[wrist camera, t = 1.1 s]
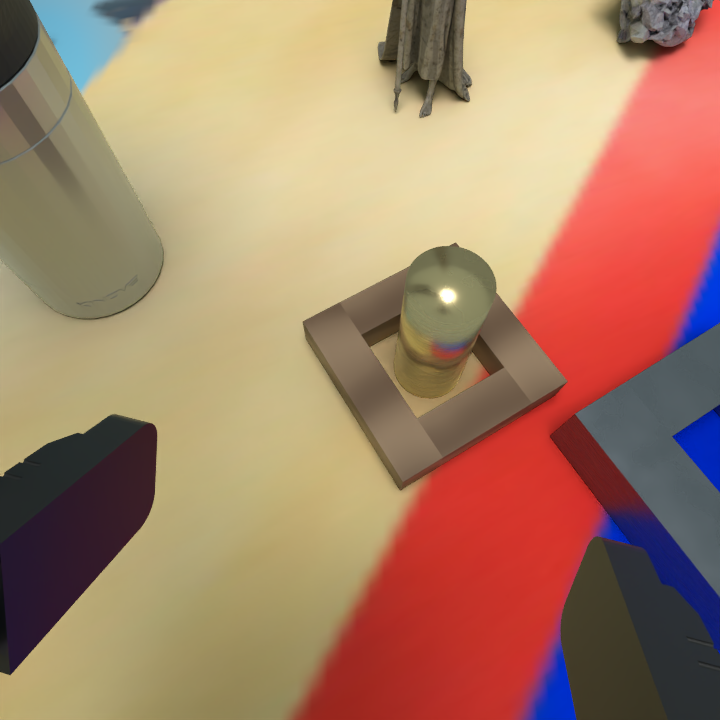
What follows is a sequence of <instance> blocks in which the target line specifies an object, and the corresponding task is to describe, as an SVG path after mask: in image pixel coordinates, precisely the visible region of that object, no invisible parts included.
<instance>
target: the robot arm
mask: <svg viewBox="0 0 720 720" xmlns="http://www.w3.org/2000/svg"><path fill="white" fill-rule="evenodd" d="M0 260H1V261H2V262H3V263H4V264H5V265H6V266H8V267H9V268H10V269H11V270H12V271H13V272H14V273H15V274H16V275H17V276H18V277H19V278H20V279H21V280H22V281H23V282H24V283H25V284H26V285H27V286H28V287H29V288H30V289H31V290H32V291H33V292H34V293H35V294H36V295H37V296H38V297H40V298H41V299H42V300H43V301H44V302H45V303H46V304H47V305H48V306H50V307H51V308H52V309H54V310H55V311H57V312H59V313H61V314H64V315H66V316H70V317H75V318H99V317H104V316H109V315H112V314H114V313H117V312H120V311H122V310H124V309H126V308H127V307H129V306H131V305H133V304H134V303H136V302H137V301H138V300H139V299H140V298H142V297H143V296H144V295H145V294H146V293H147V292H148V290H149V289H150V288H151V287H152V286H153V284H154V283H155V281H156V279H157V277H158V275H159V273H160V270H161V266H162V262H163V249H162V245H161V241H160V239H159V237H158V235H157V233H156V231H155V229H154V227H153V226H152V224H151V222H150V220H149V218H148V216H147V214H146V213H145V211H144V209H143V207H142V205H141V203H140V201H139V199H138V197H137V195H136V194H135V192H134V190H133V188H132V186H131V184H130V183H129V181H128V179H127V177H126V175H125V174H124V172H123V170H122V168H121V166H120V164H119V163H118V161H117V159H116V157H115V155H114V153H113V152H112V150H111V148H110V146H109V144H108V142H107V141H106V139H105V137H104V135H103V133H102V131H101V130H100V128H99V126H98V124H97V122H96V120H95V119H94V117H93V115H92V113H91V111H90V109H89V108H88V106H87V104H86V102H85V100H84V98H83V97H82V95H81V93H80V91H79V89H78V88H77V86H76V84H75V82H74V80H73V79H72V77H71V75H70V73H69V71H68V70H67V68H66V66H65V64H64V63H63V61H62V59H61V57H60V55H59V53H58V52H57V50H56V48H55V46H54V44H53V42H52V41H51V39H50V37H49V35H48V33H47V31H46V30H45V28H44V26H43V24H42V22H41V21H40V19H39V17H38V15H37V13H36V12H35V10H34V8H33V6H32V4H31V2H30V0H0ZM156 453H157V430H156V427H155V425H153V424H152V423H148V422H144V421H140V420H136V419H132V418H128V417H124V416H120V415H116V414H113V415H110V416H108V417H107V418H105V419H104V420H102V421H101V422H100V423H98V424H97V425H95V426H94V427H93V428H91V429H90V430H88V431H87V432H86V433H84V434H80V433H76V434H73V435H70V436H67V437H64V438H62V439H59V440H56V441H53V442H50V443H48V444H46V445H45V446H43V447H42V448H40V449H39V450H37V451H36V452H34V453H33V454H31V455H30V456H28V457H27V458H25V459H24V462H23V463H20V462H19V463H18V464H16V465H15V466H14V467H12V468H11V469H9V470H8V471H6V472H5V474H4V476H3V477H1V476H0V672H2V673H5V674H8V675H11V674H12V673H13V672H14V670H15V669H16V668H17V667H18V666H19V665H20V664H21V663H22V661H23V660H24V659H25V658H26V657H27V656H28V655H29V653H30V652H31V651H32V650H33V649H34V648H35V647H36V646H37V644H38V643H39V642H40V641H41V640H42V639H43V638H44V637H45V635H46V634H47V633H48V632H49V631H50V630H51V629H52V627H53V626H54V625H55V624H56V623H57V622H58V621H59V620H60V618H61V617H62V616H63V615H64V614H65V613H66V612H67V611H68V609H69V608H70V607H71V606H72V605H73V604H74V603H75V601H76V600H77V599H78V598H79V597H80V596H81V595H82V594H83V592H84V591H85V590H86V589H87V588H88V587H89V586H90V585H91V583H92V582H93V581H94V580H95V579H96V578H97V577H98V575H99V574H100V573H101V572H102V571H103V570H104V569H105V568H106V566H107V565H108V564H109V563H110V562H111V561H112V560H113V559H114V557H115V556H116V555H117V554H118V553H119V552H120V551H121V549H122V548H123V547H124V546H125V545H126V544H127V543H128V542H129V540H130V539H131V538H132V537H133V536H134V535H135V534H136V533H137V531H138V530H139V529H140V528H141V527H142V525H143V524H144V522H145V521H146V519H147V517H148V515H149V513H150V510H151V508H152V504H153V501H154V495H155V476H156ZM561 643H562V649H563V654H564V659H565V664H566V669H567V674H568V679H569V684H570V689H571V694H572V699H573V704H574V709H575V714H576V719H577V720H720V654H719V652H718V650H717V649H714V647H713V646H714V643H713V641H712V639H711V637H710V635H709V633H708V631H707V629H706V627H705V625H704V623H703V621H702V619H701V617H700V615H699V614H698V613H697V612H696V611H695V610H694V609H693V608H692V606H691V605H690V604H689V603H688V602H687V601H686V600H685V599H684V598H683V597H682V596H681V595H680V594H679V592H678V591H677V590H676V589H675V588H674V587H672V586H668V585H664V584H661V582H660V579H659V577H658V575H657V573H656V571H655V569H654V566H653V564H652V562H651V560H650V558H649V556H648V554H647V552H646V551H645V549H643V548H642V547H638V546H634V545H630V544H626V543H622V542H618V541H614V540H610V539H606V538H602V537H598V536H597V537H594V538H593V539H592V540H591V542H590V543H589V545H588V547H587V550H586V552H585V555H584V557H583V560H582V562H581V565H580V567H579V570H578V572H577V575H576V577H575V580H574V582H573V585H572V587H571V590H570V592H569V595H568V597H567V600H566V602H565V605H564V609H563V613H562V619H561Z"/></svg>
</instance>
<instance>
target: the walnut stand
mask: <svg viewBox="0 0 720 720" xmlns="http://www.w3.org/2000/svg"><path fill="white" fill-rule="evenodd" d="M450 246H454V247H459V246H458V245H457V243H454V244H452V245H450ZM409 267H410V266H409ZM409 267H407V268H406V269H404V270H402V271H400V272H398V273H396V274H394V275H392V276H390V277H388V278H386V279H384V280H382V281H380V282H378V283H376V284H375V285H373V286H371V287H369V288H367V289H365V290H363V291H361V292H359V293H357V294H355V295H353V296H351V297H349V298H347V299H345V300H344V301H342V302H340V303H338V304H336V305H334V306H332V307H330V308H328V309H326V310H324V311H322V312H320V313H318V314H316V315H314V316H313V317H311V318H309V319H307V320H305V321H303V326H304V331H305V336H306V339H307V341H308V343H309V344H310V346H311V347H312V349H313V351H314V352H315V354H316V355H317V357H318V359H319V360H320V362H321V364H322V365H323V367H324V368H325V370H326V372H327V373H328V375H329V376H330V378H331V380H332V381H333V383H334V385H335V386H336V388H337V389H338V391H339V393H340V394H341V396H342V397H343V399H344V401H345V402H346V404H347V405H348V407H349V409H350V410H351V412H352V414H353V415H354V417H355V418H356V420H357V422H358V423H359V425H360V426H361V428H362V430H363V431H364V433H365V435H366V436H367V438H368V439H369V441H370V443H371V444H372V446H373V447H374V449H375V451H376V452H377V454H378V455H379V457H380V459H381V460H382V462H383V464H384V465H385V467H386V468H387V470H388V472H389V473H390V475H391V476H392V478H393V480H394V481H395V483H396V485H397V486H398V488H399V489H400V490H402V489H403V488H405V487H406V486H408V485H410V484H411V483H413V482H415V481H416V480H418V479H420V478H421V477H423V476H424V475H426V474H428V473H429V472H431V471H433V470H434V469H436V468H437V467H439V466H441V465H442V464H444V463H446V462H447V461H449V460H451V459H452V458H454V457H455V456H457V455H459V454H460V453H462V452H464V451H465V450H467V449H468V448H470V447H472V446H473V445H475V444H477V443H478V442H480V441H482V440H483V439H485V438H486V437H488V436H490V435H491V434H493V433H495V432H496V431H498V430H499V429H501V428H503V427H504V426H506V425H508V424H509V423H511V422H512V421H514V420H516V419H517V418H519V417H521V416H522V415H524V414H526V413H527V412H529V411H530V410H532V409H534V408H535V407H537V406H539V405H540V404H542V403H543V402H545V401H547V400H548V399H550V398H552V397H553V396H555V395H556V394H557V393H558V391H559V390H560V389H561V388H562V387H563V386H564V385H565V384H566V383H567V382H568V381H567V380H566V379H565V378H564V376H563V375H562V374H561V373H560V371H559V370H558V369H557V368H556V366H555V365H554V364H553V363H552V361H551V360H550V359H549V358H548V357H547V355H546V354H545V353H544V352H543V350H542V349H541V348H540V347H539V345H538V344H537V343H536V342H535V340H534V339H533V338H532V337H531V335H530V334H529V333H528V332H527V330H526V329H525V328H524V327H523V325H522V324H521V323H520V322H519V320H518V319H517V318H516V317H515V315H514V314H513V313H512V312H511V310H510V309H509V308H508V307H507V306H506V304H505V303H504V302H503V301H502V299H501V298H500V297H499V296H498V294H497V293H496V295H495V299H494V301H493V303H492V306H491V308H490V310H489V312H488V315H487V317H486V319H485V321H484V324H483V326H482V328H481V331H480V333H479V335H478V337H477V340H476V342H475V344H474V346H473V349H472V351H473V352H474V354H475V355H476V357H477V358H478V359H479V361H480V362H481V363H482V365H483V366H484V367H485V369H486V370H487V371H488V373H489V374H490V375H491V376H489V377H487V378H486V379H484V380H482V381H480V382H479V383H477V384H475V385H474V386H472V387H470V388H469V389H467V390H465V391H463V392H462V393H460V394H458V395H457V396H455V397H453V398H451V399H450V400H448V401H446V402H445V403H443V404H441V405H440V406H438V407H436V408H434V409H433V410H431V411H429V412H428V413H426V414H424V415H422V416H421V417H419V418H416V416H415V415H414V413H413V412H412V410H411V409H410V407H409V406H408V404H407V403H406V401H405V400H404V398H403V397H402V395H401V394H400V392H399V391H398V389H397V388H396V386H395V385H394V383H393V382H392V380H391V379H390V377H389V376H388V374H387V373H386V371H385V370H384V368H383V367H382V365H381V364H380V362H379V361H378V359H377V358H376V356H375V355H374V353H373V352H372V350H371V349H370V346H372V345H374V344H375V343H377V342H379V341H381V340H383V339H385V338H386V337H388V336H390V335H392V334H394V333H396V332H398V331H399V325H400V318H401V311H402V304H403V296H404V289H405V282H406V276H407V272H408V269H409Z"/></svg>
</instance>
